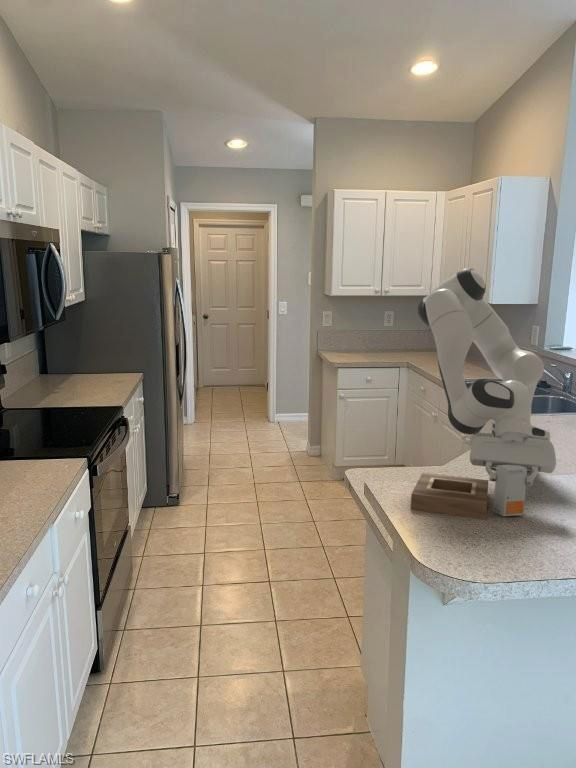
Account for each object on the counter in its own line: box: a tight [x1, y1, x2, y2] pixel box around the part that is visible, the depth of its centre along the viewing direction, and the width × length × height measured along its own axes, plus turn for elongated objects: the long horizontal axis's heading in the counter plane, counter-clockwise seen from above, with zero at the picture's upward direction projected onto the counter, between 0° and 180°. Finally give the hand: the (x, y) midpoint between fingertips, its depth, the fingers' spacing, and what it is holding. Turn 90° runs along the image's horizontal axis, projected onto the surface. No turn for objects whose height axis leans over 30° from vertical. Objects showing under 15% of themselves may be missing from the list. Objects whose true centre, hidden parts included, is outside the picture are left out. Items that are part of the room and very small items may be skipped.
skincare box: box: [493, 464, 528, 517], centre depth 143 cm, size 6×4×12 cm
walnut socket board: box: [410, 472, 489, 520], centre depth 152 cm, size 22×18×4 cm
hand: (510, 482), depth 142 cm, fingers closed on skincare box, 7 cm apart
